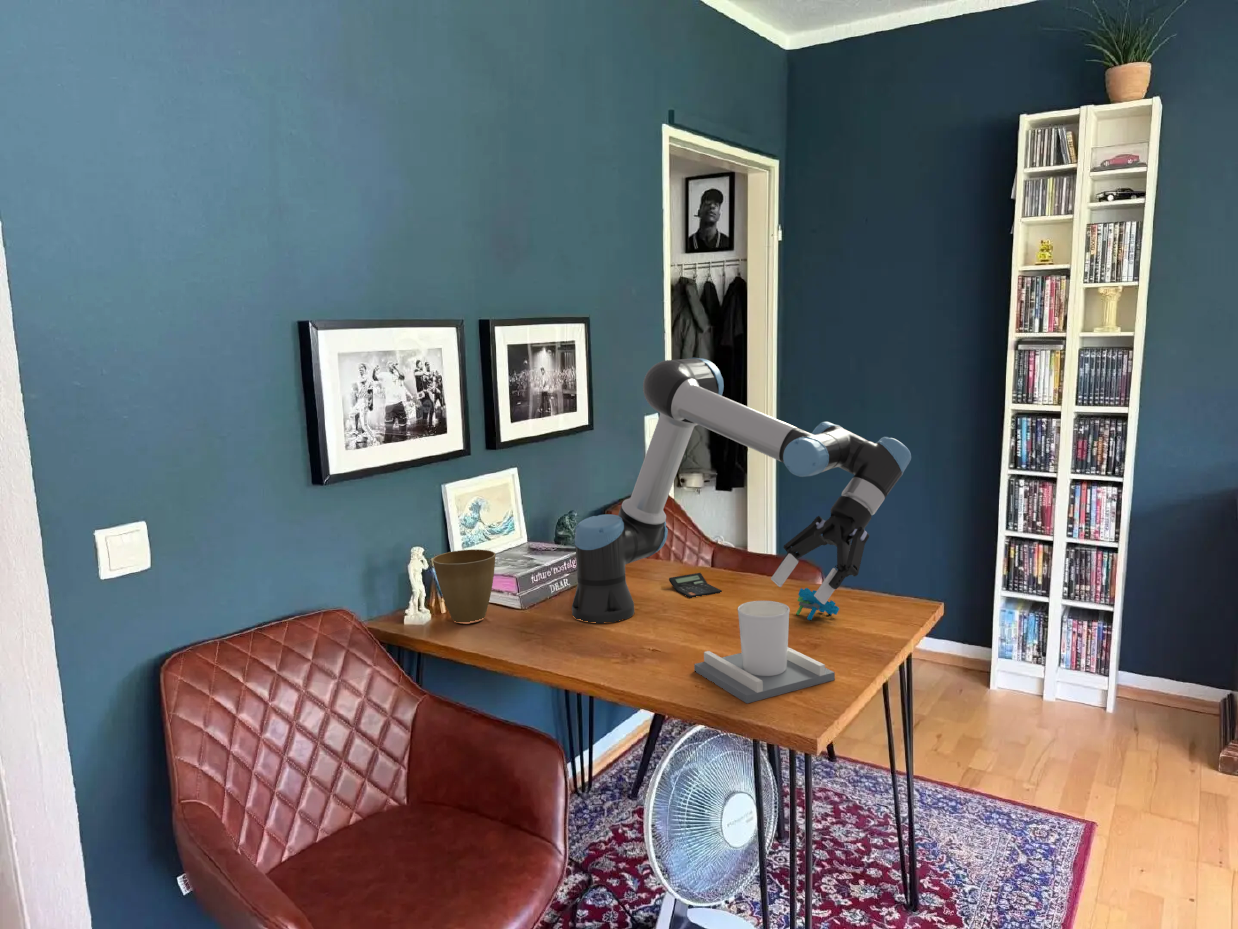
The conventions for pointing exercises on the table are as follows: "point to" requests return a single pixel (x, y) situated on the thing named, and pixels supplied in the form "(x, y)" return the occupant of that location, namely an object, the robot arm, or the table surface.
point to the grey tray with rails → (756, 687)
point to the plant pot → (466, 582)
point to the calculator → (693, 585)
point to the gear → (814, 603)
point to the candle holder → (764, 637)
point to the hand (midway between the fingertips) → (796, 591)
